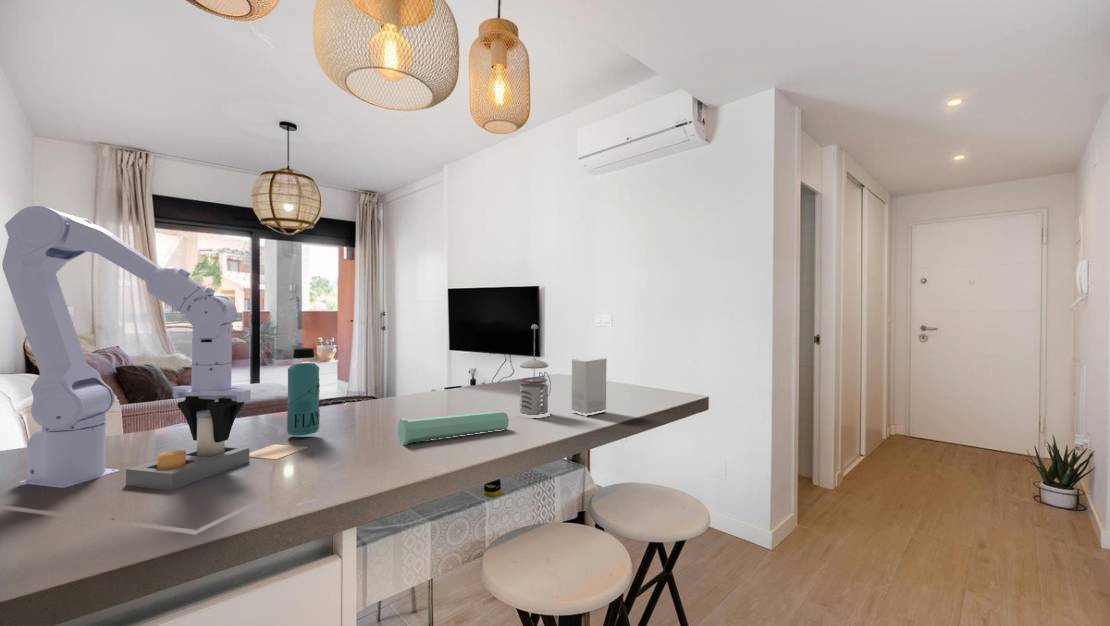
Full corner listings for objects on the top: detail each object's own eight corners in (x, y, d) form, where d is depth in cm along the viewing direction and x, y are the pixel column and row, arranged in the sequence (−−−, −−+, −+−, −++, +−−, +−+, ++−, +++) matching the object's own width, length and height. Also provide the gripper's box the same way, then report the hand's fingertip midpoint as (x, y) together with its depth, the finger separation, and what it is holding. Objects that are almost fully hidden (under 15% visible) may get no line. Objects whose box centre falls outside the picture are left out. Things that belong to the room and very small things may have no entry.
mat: (240, 459, 88) (240, 455, 88) (274, 447, 96) (274, 444, 96) (276, 462, 86) (276, 459, 86) (307, 449, 94) (307, 446, 94)
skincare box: (591, 409, 136) (592, 356, 136) (607, 413, 131) (608, 358, 131) (570, 413, 131) (570, 357, 131) (586, 417, 126) (586, 360, 126)
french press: (538, 409, 135) (539, 323, 135) (562, 417, 126) (563, 324, 126) (509, 413, 130) (510, 324, 129) (532, 421, 120) (533, 325, 120)
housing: (125, 488, 73) (125, 469, 73) (208, 460, 87) (208, 444, 87) (172, 493, 71) (172, 473, 71) (249, 464, 85) (249, 447, 85)
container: (504, 403, 114) (400, 412, 101) (514, 417, 109) (406, 428, 96) (499, 423, 116) (396, 435, 102) (509, 438, 111) (403, 452, 98)
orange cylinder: (150, 477, 74) (151, 455, 74) (173, 470, 78) (173, 449, 78) (169, 479, 74) (169, 457, 74) (191, 471, 77) (191, 450, 77)
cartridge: (189, 459, 81) (190, 412, 81) (211, 452, 85) (212, 407, 85) (209, 461, 80) (210, 413, 80) (231, 454, 84) (231, 409, 84)
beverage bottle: (289, 444, 98) (290, 349, 98) (283, 437, 103) (284, 347, 103) (323, 439, 102) (323, 348, 102) (315, 433, 107) (316, 346, 107)
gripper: (155, 364, 80) (154, 443, 80) (225, 367, 77) (224, 449, 77) (195, 360, 87) (193, 432, 87) (260, 363, 84) (259, 438, 84)
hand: (210, 440), depth 83 cm, fingers closed on cartridge, 4 cm apart
